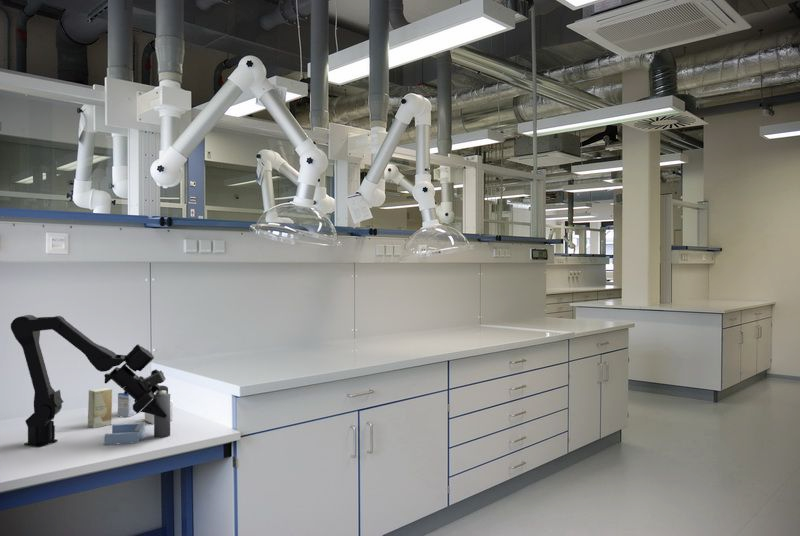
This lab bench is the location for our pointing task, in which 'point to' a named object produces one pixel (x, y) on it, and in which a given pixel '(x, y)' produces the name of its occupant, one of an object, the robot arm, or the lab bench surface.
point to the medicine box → (125, 405)
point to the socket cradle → (125, 433)
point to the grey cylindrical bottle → (161, 423)
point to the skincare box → (100, 407)
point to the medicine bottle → (150, 417)
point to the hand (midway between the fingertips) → (166, 414)
